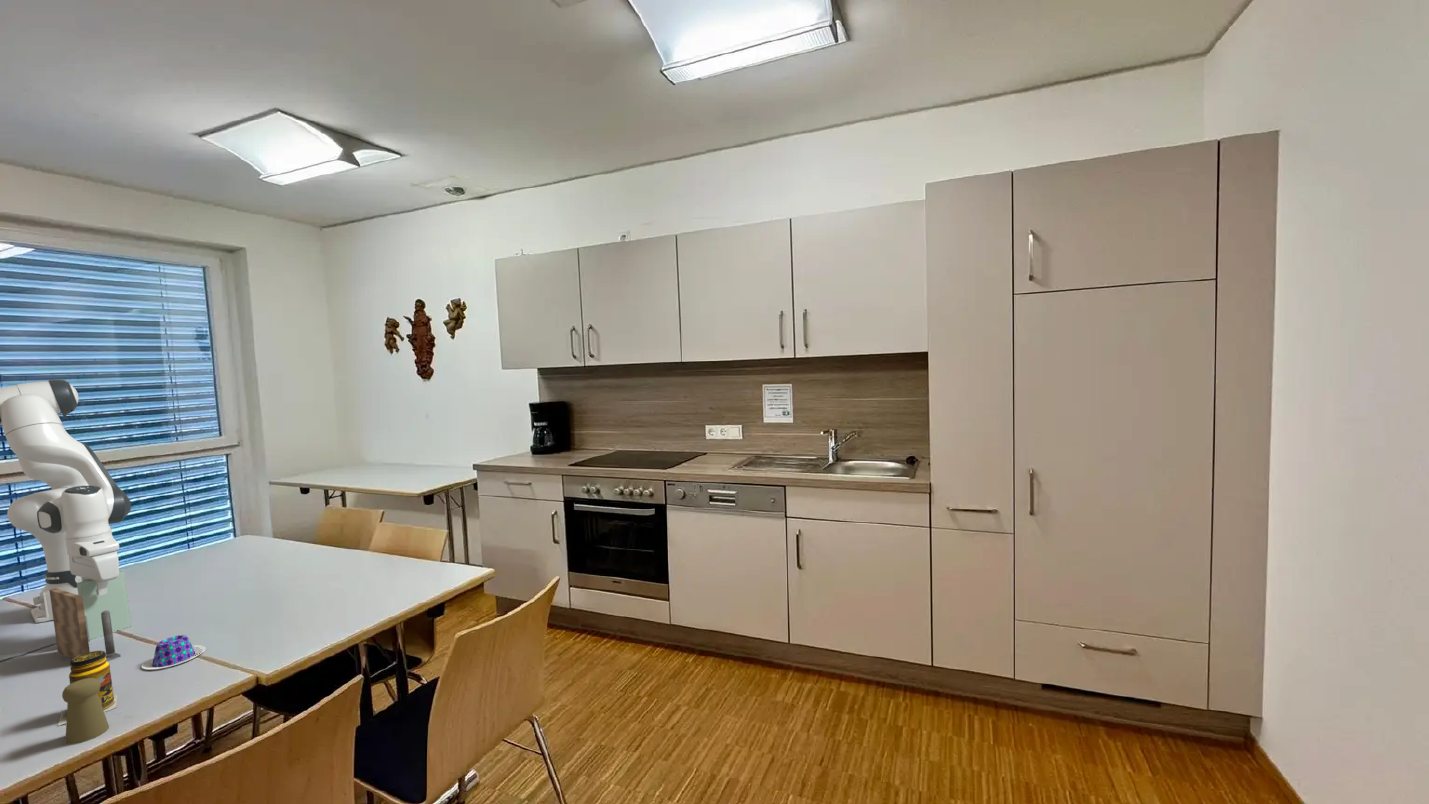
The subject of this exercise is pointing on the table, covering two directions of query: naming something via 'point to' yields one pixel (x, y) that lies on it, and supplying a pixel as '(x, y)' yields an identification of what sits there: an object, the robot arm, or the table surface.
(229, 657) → the table surface
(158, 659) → the purple domed brimmed piece
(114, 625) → the door
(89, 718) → the cork
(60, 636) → the cabinet side
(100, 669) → the condiment
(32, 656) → the table surface
